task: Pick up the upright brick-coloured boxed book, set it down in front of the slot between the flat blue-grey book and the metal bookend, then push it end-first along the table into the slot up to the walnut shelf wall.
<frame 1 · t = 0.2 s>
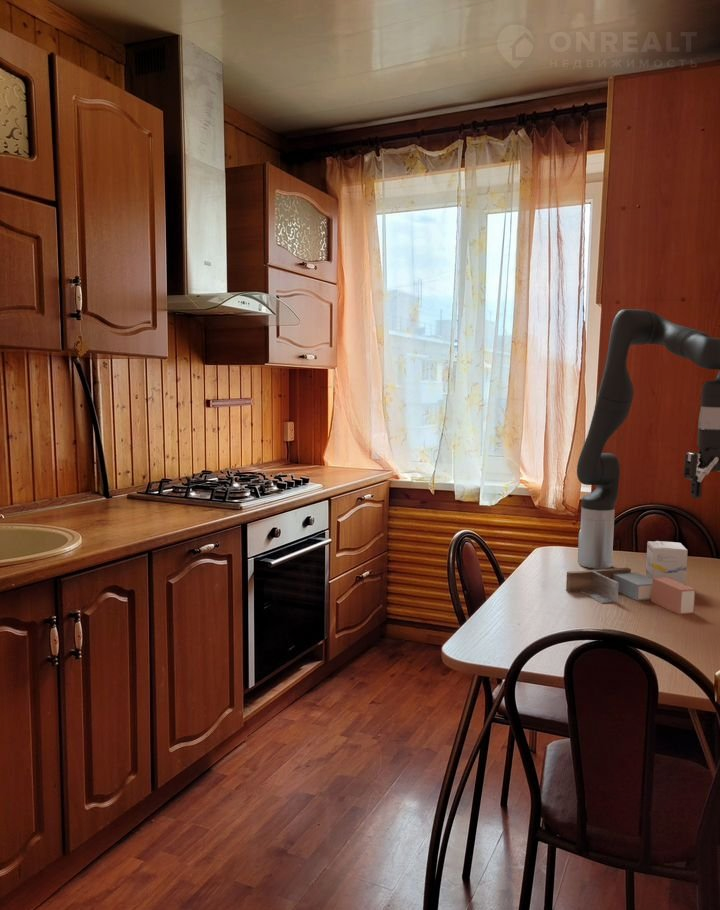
hand: (711, 497, 161), 28 cm above the table, fingers open, 8 cm apart
boxed book: (671, 607, 169), on the table
ink box: (664, 588, 185), on the table
bookend: (604, 596, 177), on the table
shelf wall: (601, 588, 183), on the table
flat book: (636, 593, 179), on the table
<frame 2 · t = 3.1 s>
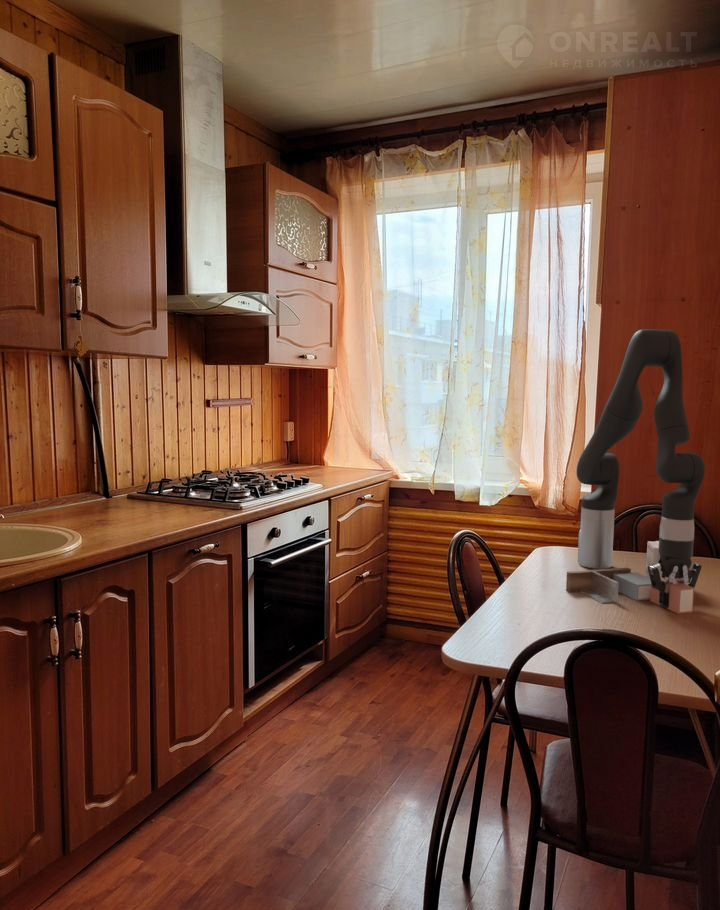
hand: (672, 605, 169), 0 cm above the table, fingers closed on boxed book, 4 cm apart
boxed book: (670, 606, 169), on the table, touching gripper
everything else where it was.
when the fingers open (1 cm above the table, at t = 7.7 s): boxed book stays where it is, on the table.
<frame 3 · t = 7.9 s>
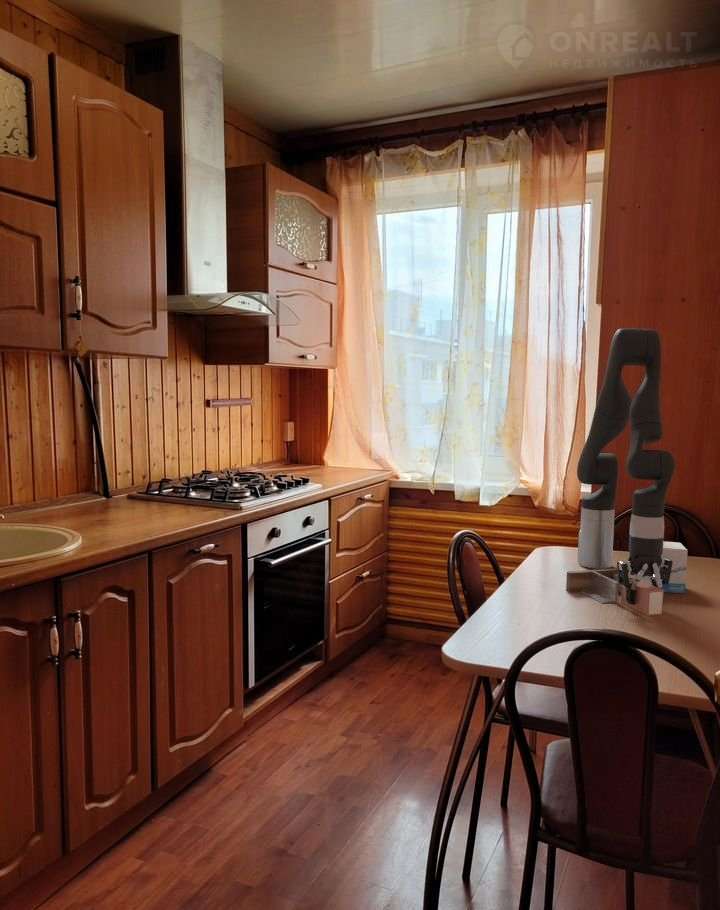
hand: (642, 602, 167), 2 cm above the table, fingers open, 6 cm apart
boxed book: (640, 608, 168), on the table
everything else where it was.
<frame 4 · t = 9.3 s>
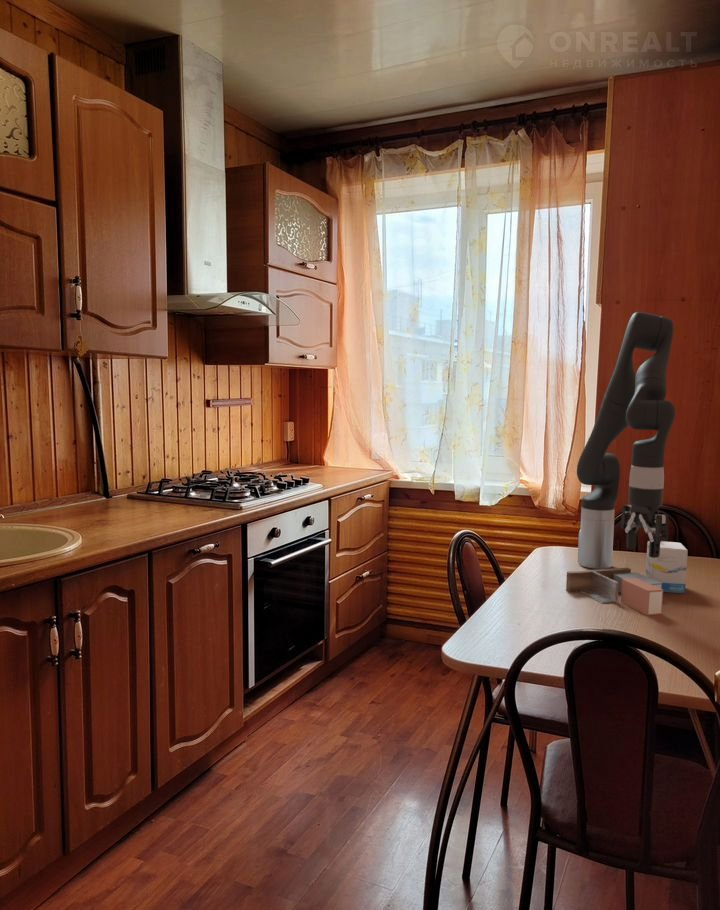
hand: (642, 552, 166), 14 cm above the table, fingers open, 8 cm apart
nothing on the table moved.
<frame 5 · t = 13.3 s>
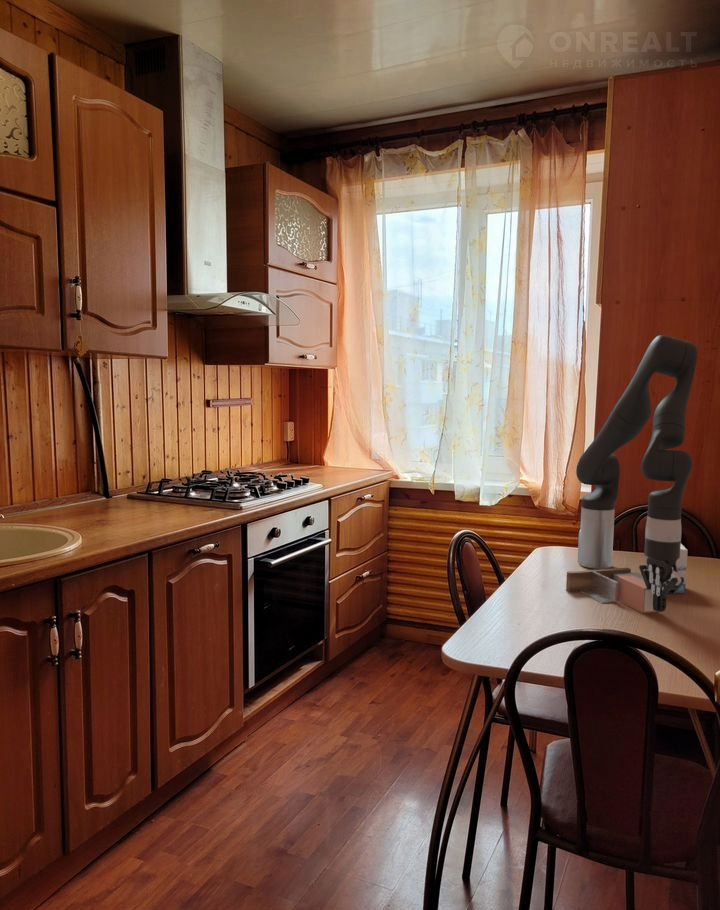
hand: (658, 610, 162), 1 cm above the table, fingers closed
boxed book: (636, 605, 169), on the table, touching gripper
everything else where it was.
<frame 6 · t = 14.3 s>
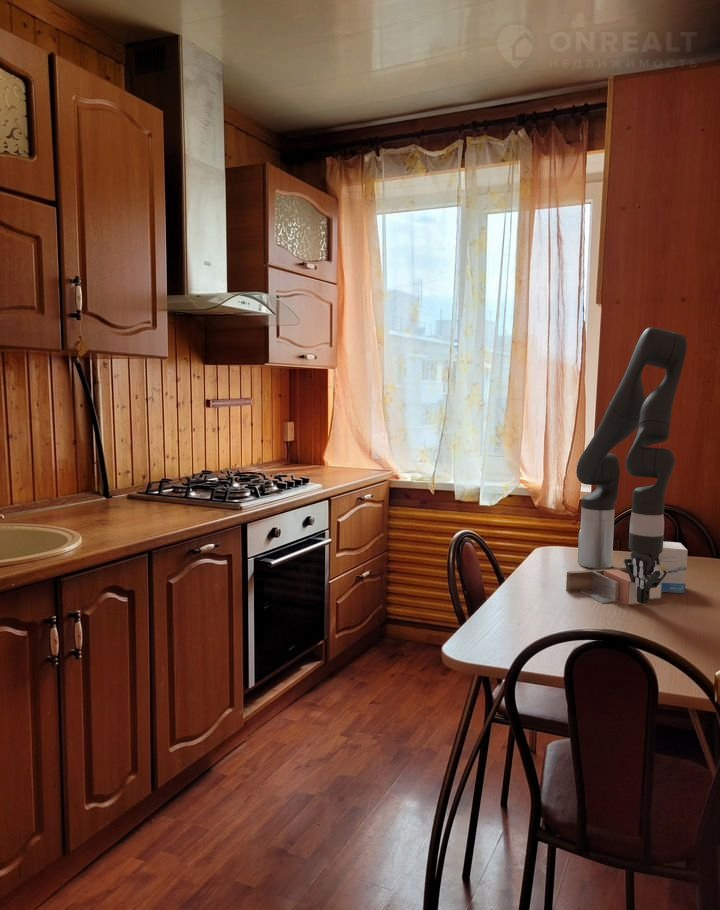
hand: (642, 602, 167), 1 cm above the table, fingers closed
boxed book: (621, 598, 175), on the table, touching gripper
everything else where it was.
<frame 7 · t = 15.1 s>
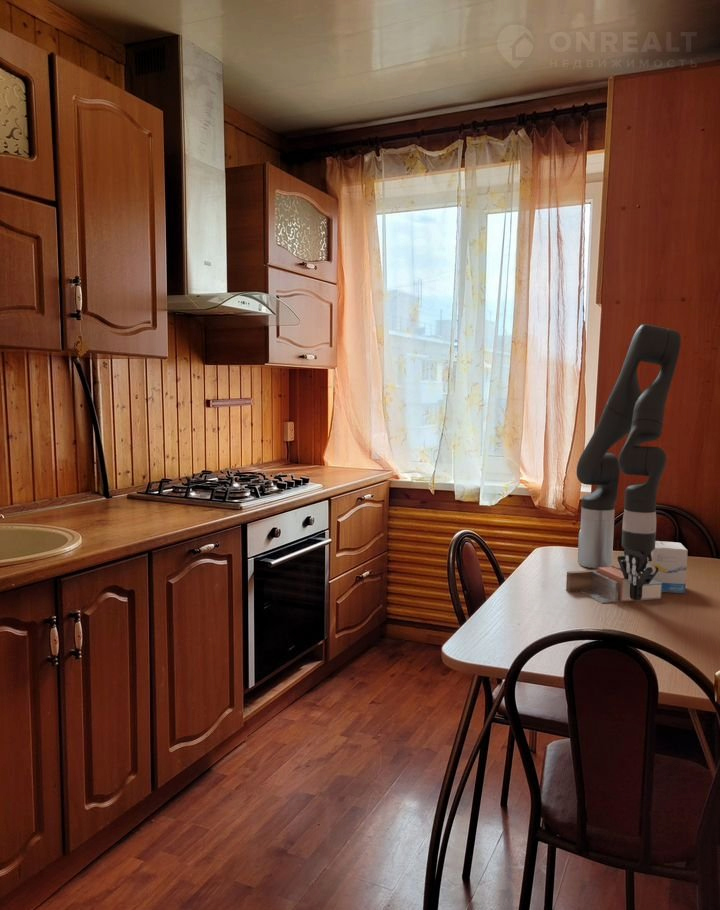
hand: (635, 599, 170), 2 cm above the table, fingers closed
boxed book: (615, 595, 178), on the table, touching gripper, hand, shelf wall
everything else where it was.
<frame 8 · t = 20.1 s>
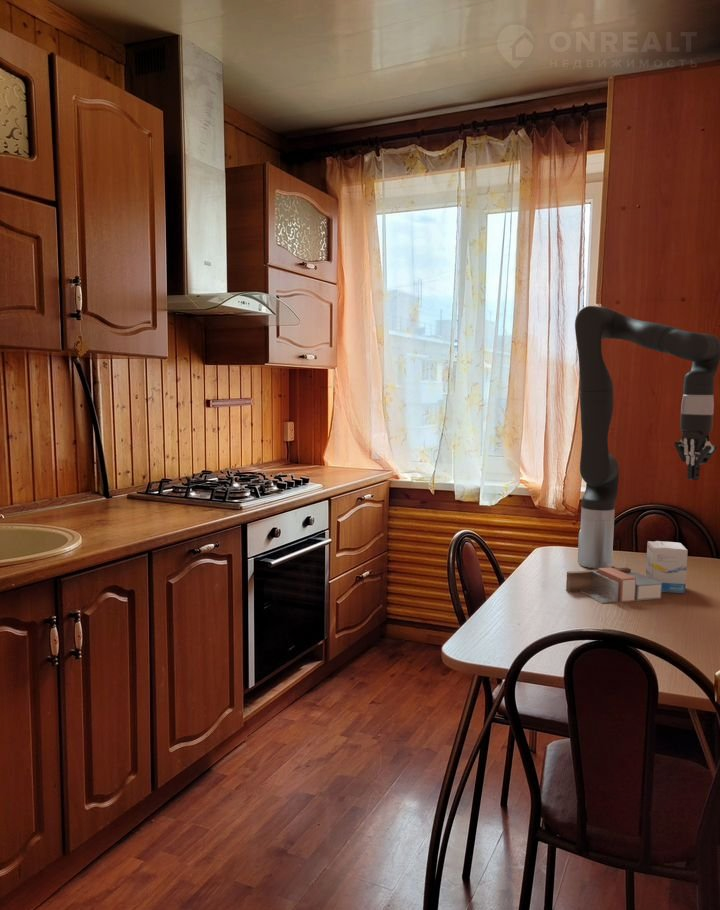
hand: (692, 479, 181), 29 cm above the table, fingers closed
boxed book: (615, 596, 178), on the table, touching shelf wall
everything else where it was.
at the end: boxed book 0.7 cm from the target spot, on the table; boxed book tilted 0°; boxed book moved 13.7 cm from its start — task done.
